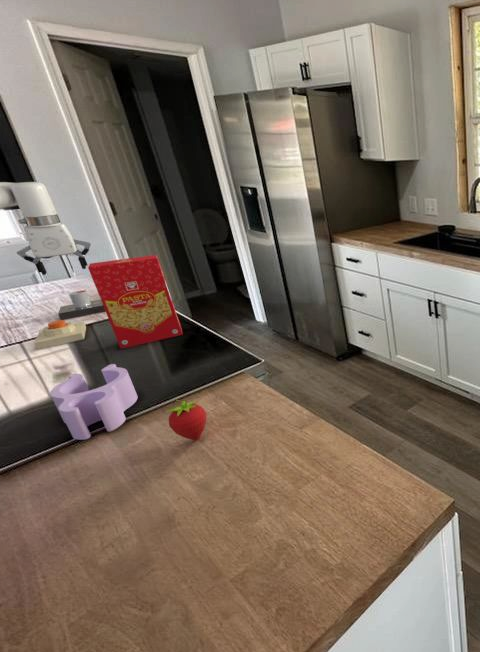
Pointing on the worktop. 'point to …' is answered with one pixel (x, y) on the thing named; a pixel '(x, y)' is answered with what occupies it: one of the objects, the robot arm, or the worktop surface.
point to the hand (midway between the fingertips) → (65, 271)
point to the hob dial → (80, 299)
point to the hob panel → (81, 310)
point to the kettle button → (56, 324)
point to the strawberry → (188, 420)
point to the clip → (94, 401)
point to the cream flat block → (60, 335)
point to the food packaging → (136, 300)
